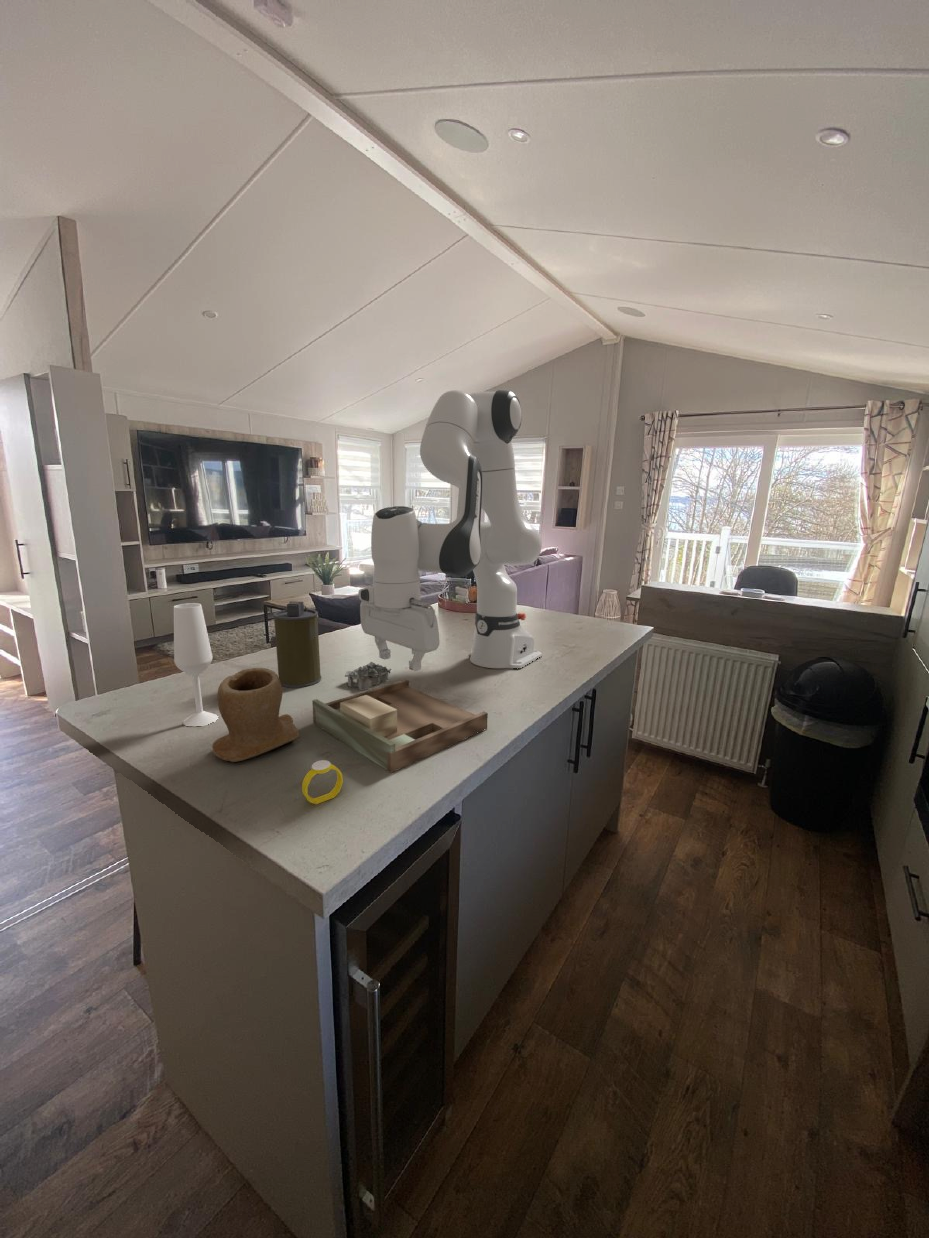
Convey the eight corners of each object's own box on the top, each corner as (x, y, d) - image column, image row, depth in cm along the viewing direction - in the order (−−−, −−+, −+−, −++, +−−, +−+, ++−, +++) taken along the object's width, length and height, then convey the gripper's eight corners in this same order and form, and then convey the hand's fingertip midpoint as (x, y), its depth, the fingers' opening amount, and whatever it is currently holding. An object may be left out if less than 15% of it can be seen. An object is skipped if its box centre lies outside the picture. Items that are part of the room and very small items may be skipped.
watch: (309, 812, 73) (304, 777, 72) (302, 803, 75) (297, 768, 74) (346, 795, 77) (342, 761, 75) (338, 787, 79) (334, 754, 77)
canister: (314, 688, 120) (309, 607, 115) (271, 687, 120) (264, 606, 116) (327, 673, 131) (323, 598, 126) (287, 672, 131) (282, 597, 126)
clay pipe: (233, 776, 82) (225, 691, 78) (205, 751, 90) (196, 672, 86) (316, 745, 93) (311, 668, 89) (284, 725, 100) (279, 654, 97)
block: (366, 715, 101) (366, 694, 100) (397, 731, 94) (397, 709, 93) (341, 724, 97) (340, 702, 96) (370, 742, 90) (370, 718, 89)
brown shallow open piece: (406, 693, 118) (406, 673, 117) (487, 729, 100) (487, 705, 99) (313, 723, 101) (312, 700, 100) (391, 772, 84) (390, 745, 82)
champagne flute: (223, 721, 102) (211, 606, 96) (186, 730, 97) (171, 610, 92) (213, 710, 107) (201, 600, 101) (178, 719, 102) (164, 604, 97)
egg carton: (364, 692, 119) (363, 676, 118) (342, 686, 123) (341, 670, 122) (393, 679, 127) (393, 664, 126) (372, 673, 131) (371, 659, 130)
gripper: (447, 600, 89) (447, 672, 93) (379, 585, 103) (382, 649, 107) (420, 606, 85) (422, 681, 88) (353, 589, 99) (357, 655, 102)
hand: (399, 663), depth 98 cm, fingers open, 8 cm apart
